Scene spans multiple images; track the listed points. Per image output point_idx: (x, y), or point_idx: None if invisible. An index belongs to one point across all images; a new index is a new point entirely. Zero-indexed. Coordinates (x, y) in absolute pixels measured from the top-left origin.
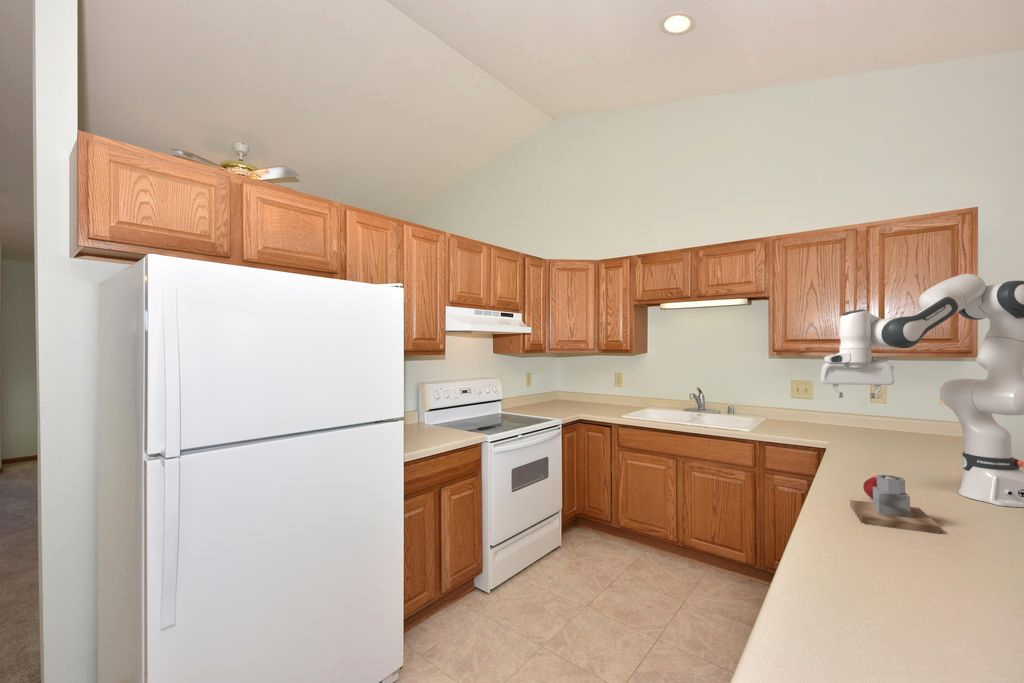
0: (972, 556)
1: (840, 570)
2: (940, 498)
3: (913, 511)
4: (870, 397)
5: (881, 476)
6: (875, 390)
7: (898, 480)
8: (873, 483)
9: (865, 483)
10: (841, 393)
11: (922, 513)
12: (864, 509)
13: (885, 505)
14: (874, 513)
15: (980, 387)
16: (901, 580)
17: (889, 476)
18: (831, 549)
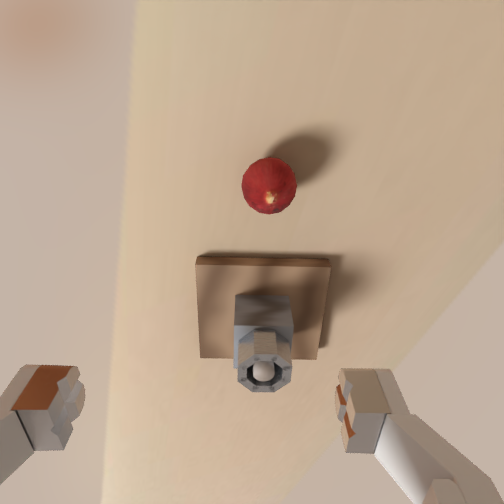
0: (315, 410)
1: (154, 481)
2: (466, 78)
3: (307, 297)
4: (340, 371)
5: (246, 370)
6: (408, 465)
7: (273, 389)
8: (263, 212)
9: (245, 195)
10: (55, 441)
11: (319, 303)
12: (213, 319)
13: None
14: (226, 335)
15: None
16: (209, 480)
17: (267, 359)
18: (148, 443)
